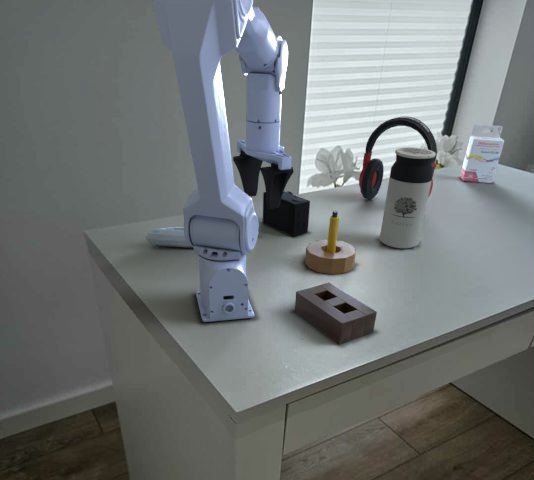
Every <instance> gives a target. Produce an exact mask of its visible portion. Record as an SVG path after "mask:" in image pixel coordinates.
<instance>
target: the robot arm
mask: <svg viewBox="0 0 534 480" xmlns="http://www.w3.org/2000/svg"><path fill="white" fill-rule="evenodd" d="M152 3H153V7H154V8H153V9H154V13H155V19H156V22H157V23H156V24H157V27H158V31H159V36H160V40H161V44H162V45H163V46H164V47H165V48H166V49H167V50H169V51H170V52H171V53H172V59H173V64H174V70H175V75H176V79H177V85H178V90H179V96H180V101H181V106H182V111H183V116H184V117H183V118H184V121H185V126H186V127H185V128H186V132H187V133H186V134H187V138H188V143H189V148H190V155H191V158H192V165H193V170H194V175H195V178H196V179H195V180H196V185H197V188H196V189H194V190H193V191H192V192H191V193H190V194H189V195H188V196H187V198H186V200H185V201H184V204H183V207H182V212H183V213H182V214H183V227H184V235H185V238H186V240H187V242H188V244H189V245H190V246H193V247H192V249H193V254H196V255H197V257H198V258H197V259H198V261H197V262H198V273H199V274H198V277H199V278H198V279H199V290H197V291H196V292H195V297H196V300H197V304H198V309H199V313H200V317H201V321H202V322H204V323H207V322H208V323H209V322H219V321H220V322H221V321H229V320H241V319H252V318H255V312H254V310H253V307H252V305H251V302H250V300H249V280H248V276H247V255H248V254H250V253H251V252H252V251H253V250H254V249H255V247H256V244H257V241H258V236H259V234H258V232H259V218H258V215H257V214H256V210H255V204H254V202H253V198H252V197H257V195H258V188H259V179H260V174H261V175H262V178H263V182H264V183H263V184H264V188H265V192H266V203H267V208H269V209H273V208H279V205H280V202H281V198H282V195H283V192H285V189H286V186H287V184H288V182H289V180H290V179H291V177H292V175H293V174H294V173H295V168H294V167H293V166H292V156H291V155H289V154H287V153H286V152H285V146H283V145H281V143H280V142H281V118H282V117H281V116H282V95H283V92H282V91H283V90H284V89H285V83H286V82H285V81H286V72H287V67H288V60H289V50H288V49H289V48H288V43H287V40H286V39H283V38H282V36H281V35H275V33H274V31H273V29H272V27H271V24H270V22H269V21H268V19H267V17H266V15H265V14H264V12H263V11H262V10H260V7H259V6H253V4H254V0H152ZM234 50H235V51H236V52H237V53H238V59H239V62H240V68H241V73H242V74H243V76H245V77H246V80H245V82H246V85H245V87H246V89H245V90H246V91H245V93H246V94H245V95H246V97H245V100H246V101H245V102H246V103H245V108H246V109H245V111H246V112H245V139H241V140H236V153H238V154H239V155H235V156H232V153H231V145H230V136H229V128H228V120H227V113H226V111H227V110H226V103H225V96H224V87H223V79H222V72H221V71H222V70H221V60H222V58H223V57H225V56H226V55H227V54H229V53H231V52H233V51H234ZM233 162H234V164H235V167H236V169H237V171H238V173H239V177H240V180H241V184H242V189H243V190H242V189H241V188H239V186H238V185H236V184H235V176H234V169H233ZM263 162H265V163H267V164H270V165H269V166H263V167H262V165H263Z"/></svg>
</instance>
